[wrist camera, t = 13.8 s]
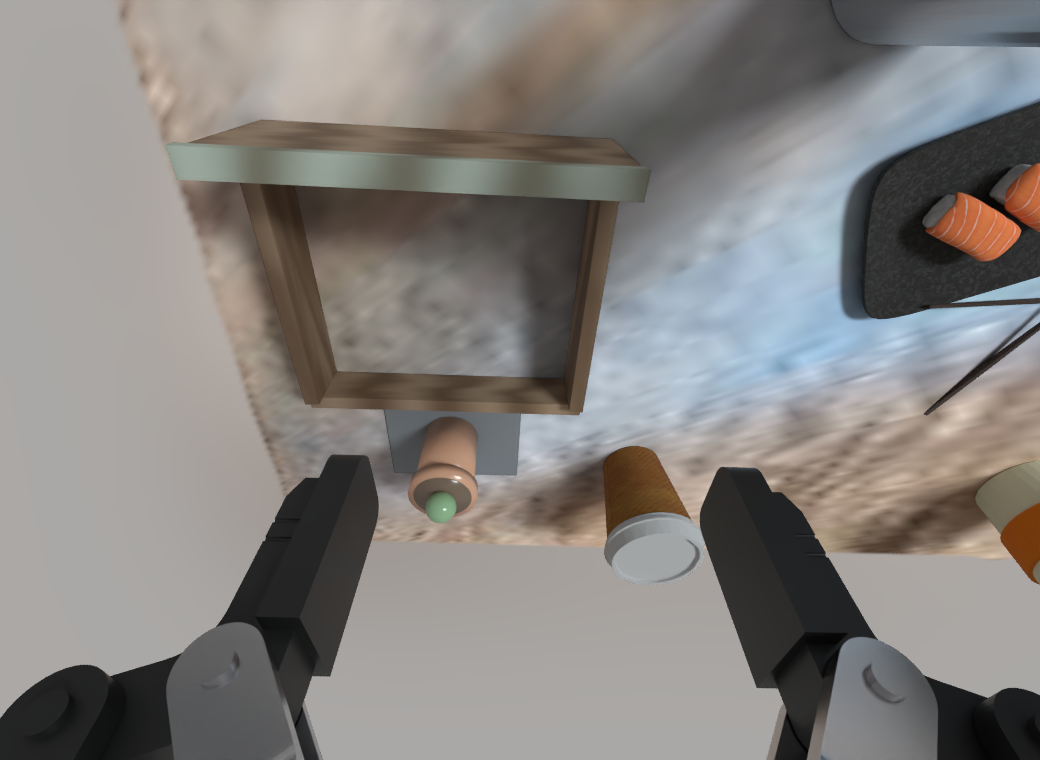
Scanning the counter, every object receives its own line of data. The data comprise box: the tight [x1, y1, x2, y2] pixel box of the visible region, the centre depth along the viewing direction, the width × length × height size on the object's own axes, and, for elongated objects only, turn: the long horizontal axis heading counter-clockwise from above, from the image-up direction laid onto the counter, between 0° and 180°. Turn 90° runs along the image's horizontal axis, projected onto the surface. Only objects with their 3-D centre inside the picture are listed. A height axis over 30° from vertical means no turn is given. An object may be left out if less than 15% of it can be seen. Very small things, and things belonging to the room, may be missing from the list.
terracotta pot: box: [408, 417, 478, 523], centre depth 45 cm, size 6×6×11 cm
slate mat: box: [385, 410, 521, 475], centre depth 49 cm, size 14×12×1 cm
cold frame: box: [165, 120, 651, 415], centre depth 34 cm, size 24×23×11 cm
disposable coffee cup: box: [603, 446, 705, 585], centre depth 48 cm, size 10×10×12 cm
